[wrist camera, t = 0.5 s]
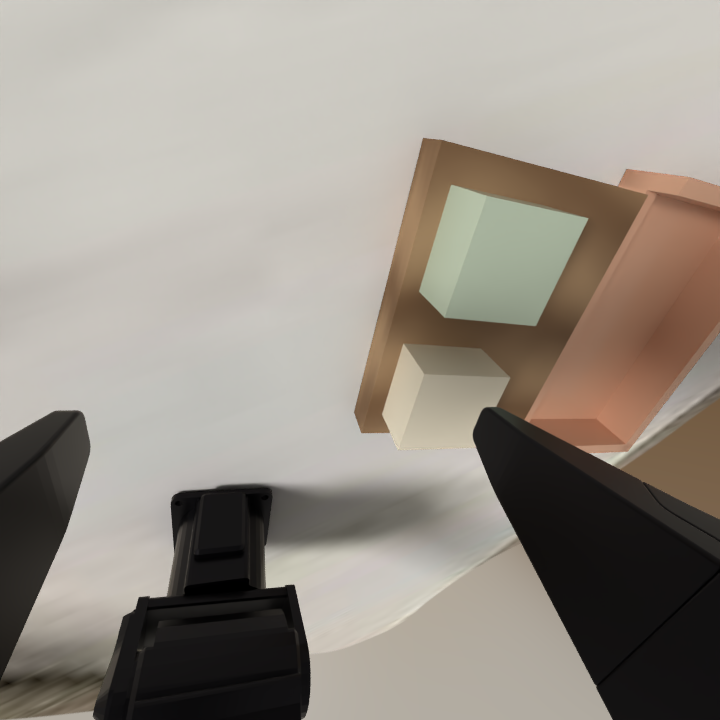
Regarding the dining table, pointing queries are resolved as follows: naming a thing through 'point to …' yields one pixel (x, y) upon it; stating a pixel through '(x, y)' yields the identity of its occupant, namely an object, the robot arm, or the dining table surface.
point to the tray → (640, 320)
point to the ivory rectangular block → (440, 396)
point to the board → (498, 340)
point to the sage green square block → (497, 257)
